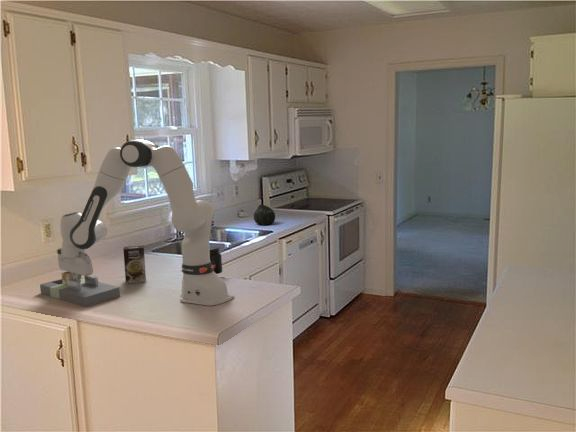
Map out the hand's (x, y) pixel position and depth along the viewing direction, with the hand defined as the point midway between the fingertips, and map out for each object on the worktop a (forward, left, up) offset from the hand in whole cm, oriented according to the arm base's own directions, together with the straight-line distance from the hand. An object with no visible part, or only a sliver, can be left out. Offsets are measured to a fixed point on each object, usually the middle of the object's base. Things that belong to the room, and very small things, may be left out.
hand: (77, 282), depth 228 cm
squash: (+35, -167, -6) cm, 171 cm away
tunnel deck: (-1, 0, -5) cm, 5 cm away
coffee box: (-5, -26, -6) cm, 27 cm away
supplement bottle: (-26, -56, -6) cm, 62 cm away
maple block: (+5, 0, -1) cm, 5 cm away
